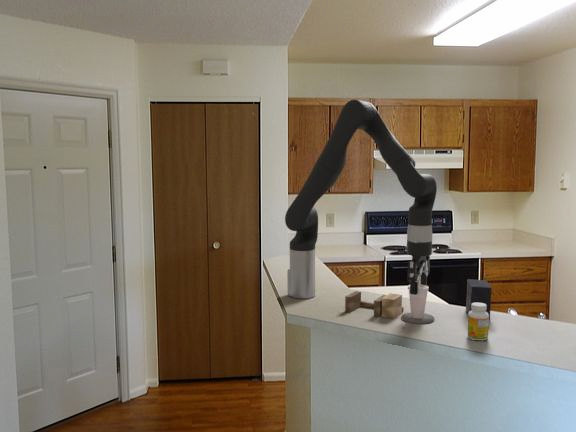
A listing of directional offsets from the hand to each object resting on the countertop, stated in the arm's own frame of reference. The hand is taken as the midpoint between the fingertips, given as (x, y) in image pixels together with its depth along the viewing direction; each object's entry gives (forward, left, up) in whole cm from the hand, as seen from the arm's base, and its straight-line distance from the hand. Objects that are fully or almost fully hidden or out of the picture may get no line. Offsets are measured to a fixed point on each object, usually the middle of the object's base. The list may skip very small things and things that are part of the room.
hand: (418, 291), depth 167 cm
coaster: (0, 0, -9) cm, 9 cm away
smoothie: (0, 0, -8) cm, 8 cm away
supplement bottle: (+20, -9, -9) cm, 24 cm away
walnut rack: (-15, 0, -9) cm, 17 cm away
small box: (+15, +14, -9) cm, 22 cm away
